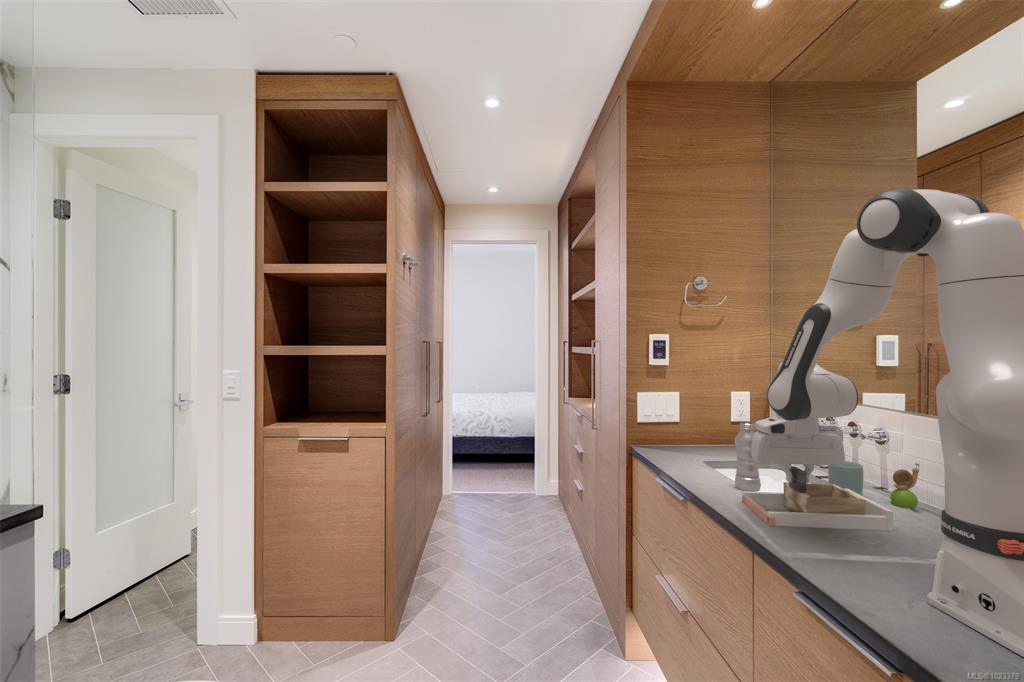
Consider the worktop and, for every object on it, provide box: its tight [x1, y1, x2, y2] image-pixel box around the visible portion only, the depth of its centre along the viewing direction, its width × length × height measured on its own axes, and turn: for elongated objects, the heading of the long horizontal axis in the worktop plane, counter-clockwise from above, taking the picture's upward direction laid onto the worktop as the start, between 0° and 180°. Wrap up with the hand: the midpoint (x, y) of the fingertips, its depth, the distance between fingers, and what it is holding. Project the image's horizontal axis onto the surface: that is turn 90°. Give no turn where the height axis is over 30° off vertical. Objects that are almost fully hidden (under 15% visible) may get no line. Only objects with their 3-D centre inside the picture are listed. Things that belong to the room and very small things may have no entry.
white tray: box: [741, 489, 894, 532], centre depth 110 cm, size 16×26×6 cm, turn 84°
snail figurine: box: [889, 462, 921, 511], centre depth 117 cm, size 5×6×12 cm
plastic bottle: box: [733, 421, 762, 492], centre depth 131 cm, size 6×7×20 cm
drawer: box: [783, 466, 865, 515], centre depth 110 cm, size 12×12×11 cm
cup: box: [827, 460, 864, 496], centre depth 124 cm, size 8×8×10 cm
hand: (797, 482), depth 111 cm, fingers closed on drawer, 2 cm apart
